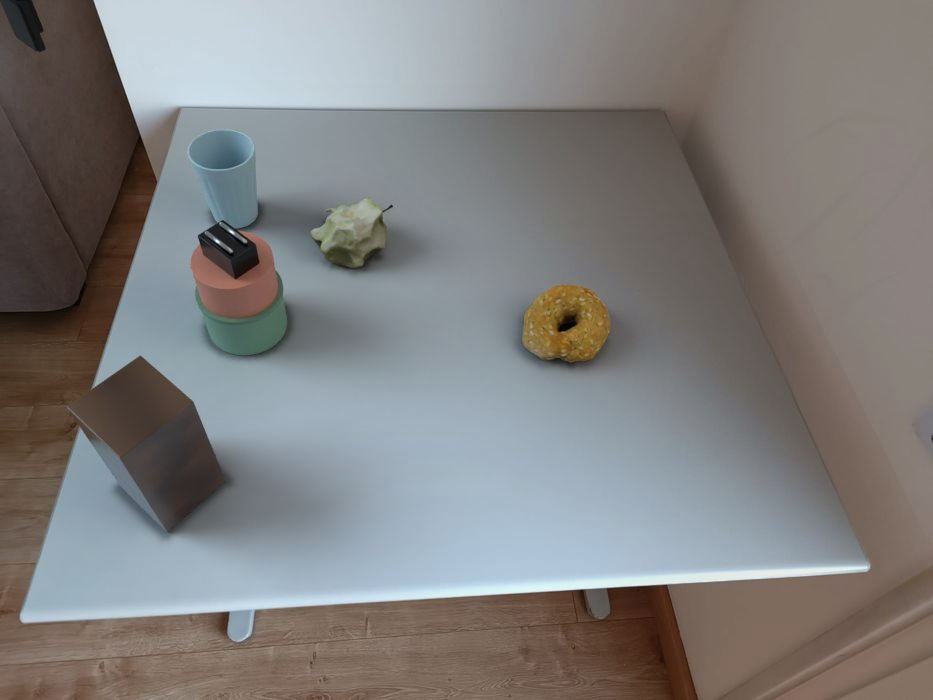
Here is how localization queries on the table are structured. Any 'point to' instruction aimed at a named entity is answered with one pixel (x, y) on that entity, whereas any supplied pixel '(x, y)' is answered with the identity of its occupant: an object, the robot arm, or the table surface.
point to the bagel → (564, 308)
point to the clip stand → (150, 441)
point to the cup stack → (241, 302)
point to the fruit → (352, 233)
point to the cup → (227, 174)
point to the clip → (229, 249)
